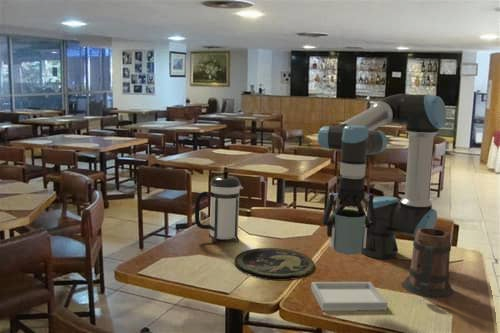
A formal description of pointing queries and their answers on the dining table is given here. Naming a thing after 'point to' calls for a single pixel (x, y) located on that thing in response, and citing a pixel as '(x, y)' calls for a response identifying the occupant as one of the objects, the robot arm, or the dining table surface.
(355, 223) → the teal cup
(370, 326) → the dining table surface
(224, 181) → the coffee press
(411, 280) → the tankard
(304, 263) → the decorative plate
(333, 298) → the tray
